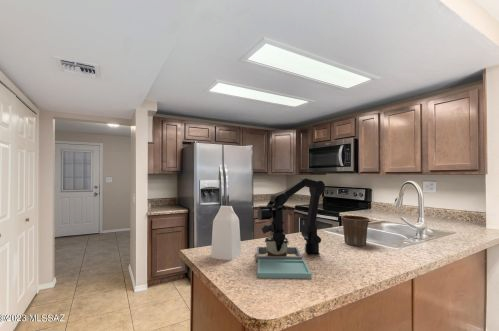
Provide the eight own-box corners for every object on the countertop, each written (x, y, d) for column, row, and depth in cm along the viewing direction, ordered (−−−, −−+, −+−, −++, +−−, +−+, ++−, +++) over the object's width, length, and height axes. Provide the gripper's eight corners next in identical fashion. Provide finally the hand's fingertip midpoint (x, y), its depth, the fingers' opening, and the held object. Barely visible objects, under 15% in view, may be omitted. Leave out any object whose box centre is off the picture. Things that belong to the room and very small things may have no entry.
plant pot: (375, 244, 154) (374, 217, 155) (360, 249, 144) (359, 220, 145) (351, 239, 167) (350, 214, 168) (336, 243, 158) (335, 216, 158)
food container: (291, 256, 131) (290, 237, 132) (288, 260, 126) (288, 239, 126) (268, 254, 135) (267, 235, 136) (264, 258, 130) (264, 238, 130)
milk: (211, 257, 131) (211, 207, 132) (221, 251, 141) (221, 204, 142) (232, 260, 126) (232, 207, 128) (241, 253, 137) (240, 205, 138)
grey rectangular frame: (297, 252, 138) (297, 247, 138) (302, 263, 121) (302, 257, 122) (257, 252, 140) (257, 246, 140) (256, 262, 123) (256, 256, 123)
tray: (304, 264, 120) (304, 259, 120) (311, 278, 103) (311, 273, 103) (258, 263, 122) (258, 259, 122) (257, 277, 105) (257, 272, 105)
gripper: (262, 216, 141) (262, 244, 140) (262, 221, 122) (262, 254, 122) (282, 216, 140) (282, 244, 140) (285, 221, 122) (285, 255, 121)
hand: (278, 249), depth 130 cm, fingers closed on food container, 6 cm apart
